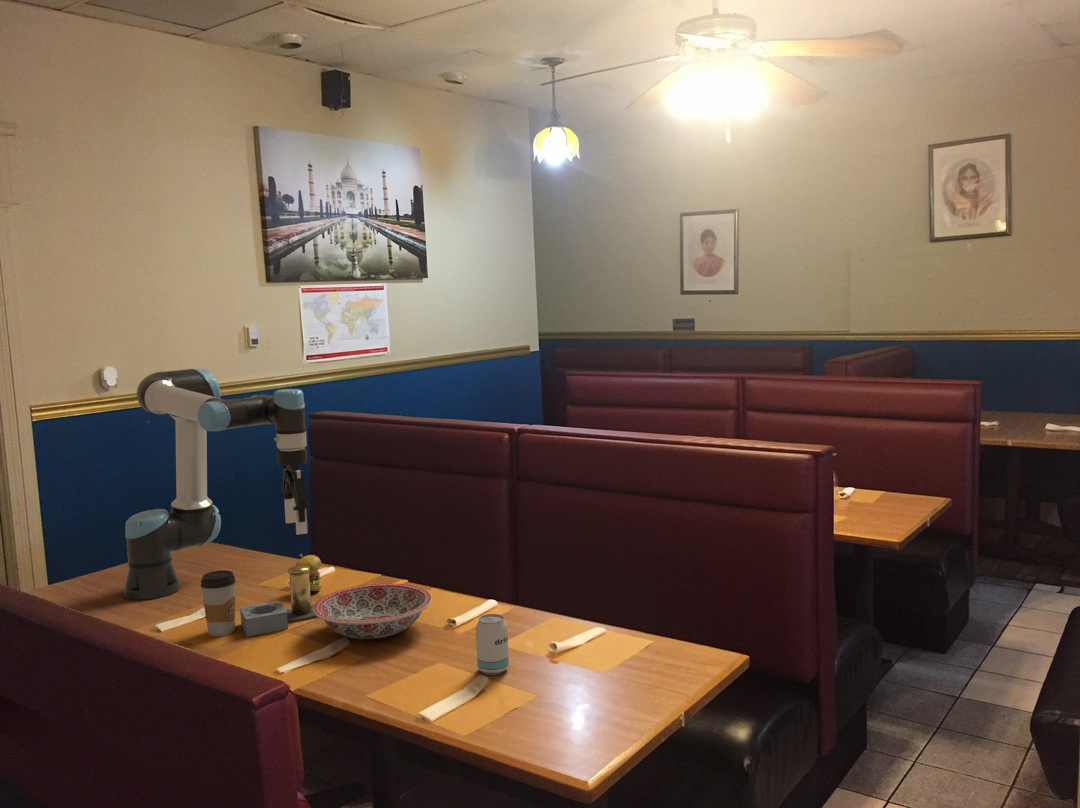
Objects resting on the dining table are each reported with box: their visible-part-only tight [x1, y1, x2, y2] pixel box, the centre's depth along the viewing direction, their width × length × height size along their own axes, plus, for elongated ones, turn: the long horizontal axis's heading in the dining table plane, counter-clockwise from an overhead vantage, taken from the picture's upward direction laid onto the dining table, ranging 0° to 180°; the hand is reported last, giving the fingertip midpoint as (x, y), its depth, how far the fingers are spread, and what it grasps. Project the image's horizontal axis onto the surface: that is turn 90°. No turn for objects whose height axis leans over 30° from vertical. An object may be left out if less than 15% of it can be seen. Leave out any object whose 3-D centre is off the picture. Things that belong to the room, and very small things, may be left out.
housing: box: [239, 600, 289, 637], centre depth 228 cm, size 10×10×4 cm
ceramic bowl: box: [313, 582, 433, 640], centre depth 222 cm, size 29×29×8 cm
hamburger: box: [294, 553, 322, 592], centre depth 255 cm, size 8×7×12 cm
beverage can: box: [475, 613, 510, 676], centre depth 196 cm, size 7×7×12 cm
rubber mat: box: [285, 604, 318, 624], centre depth 236 cm, size 9×9×1 cm
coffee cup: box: [200, 569, 237, 637], centre depth 225 cm, size 8×8×15 cm
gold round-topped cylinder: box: [287, 565, 312, 615], centre depth 236 cm, size 6×6×12 cm
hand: (296, 528), depth 234 cm, fingers open, 13 cm apart
